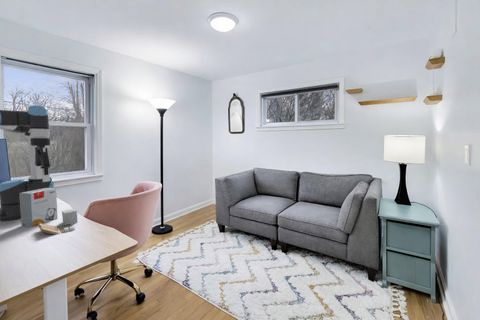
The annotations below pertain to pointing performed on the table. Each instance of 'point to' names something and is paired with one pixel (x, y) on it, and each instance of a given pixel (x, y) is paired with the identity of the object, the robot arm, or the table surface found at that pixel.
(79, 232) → the table surface
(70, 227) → the spacer wedges
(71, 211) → the block
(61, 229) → the laminate strip
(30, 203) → the hard drive box
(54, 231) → the board
